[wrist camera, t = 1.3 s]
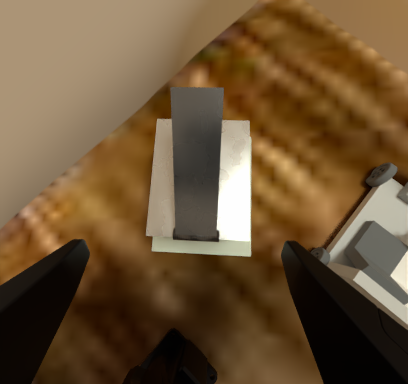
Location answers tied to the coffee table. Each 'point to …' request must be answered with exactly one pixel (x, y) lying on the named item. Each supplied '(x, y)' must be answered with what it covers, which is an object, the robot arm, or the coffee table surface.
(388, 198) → the toy car
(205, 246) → the board
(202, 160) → the strap
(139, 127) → the coffee table surface
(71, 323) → the coffee table surface
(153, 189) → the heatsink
